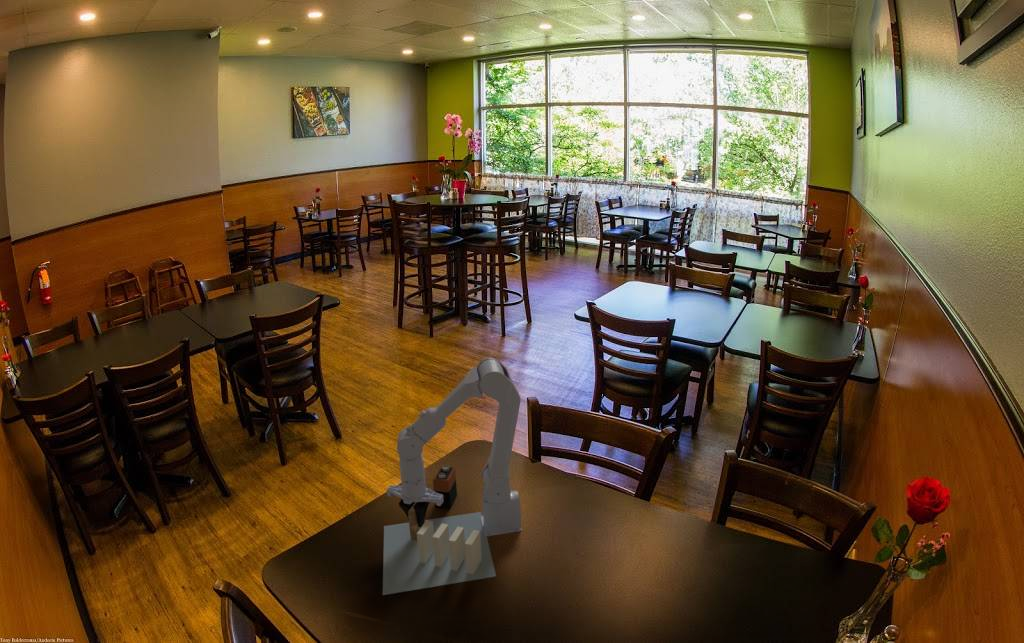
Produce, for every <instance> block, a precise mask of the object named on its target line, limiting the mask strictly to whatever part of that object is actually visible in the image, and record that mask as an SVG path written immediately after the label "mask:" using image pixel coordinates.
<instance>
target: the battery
mask: <svg viewBox="0 0 1024 643" xmlns="http://www.w3.org/2000/svg"><path fill="white" fill-rule="evenodd" d="M432 484H433V485H432V488H433V491H434V492H436V493H438V494H442V495H443V500H444V502H443V503H442V504H441V506H437V505H436V503H434V507H435V509H441V510H451V508H452V506H453V504H454V502H455V500H456V499H457V497H458V491H457V489H458V487H457V476H456V468H455V467H453V466H452V467H451V466H450V465H449V464H444V465H442V466H440V467H439V469H438V470H437V472H436V474H435V476H434V477H433V479H432Z"/></svg>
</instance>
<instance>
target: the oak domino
mask: <svg viewBox="0 0 1024 643" xmlns="http://www.w3.org/2000/svg"><path fill="white" fill-rule="evenodd" d="M416 503H417V502H416ZM416 503H415V504H416ZM415 504H414V505H415ZM414 505H413V506H414ZM413 506H412V507H411V509H410V510H409V511H408V516H409V520H408V523H409V526H410V536H411V539H412V540H417V533H418V531H419V530H420V529H421V527H418V523H417V516H416V513H415V510H414V508H413ZM424 523H425V521H424ZM423 525H424V524H423ZM423 525H422V526H423Z"/></svg>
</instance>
